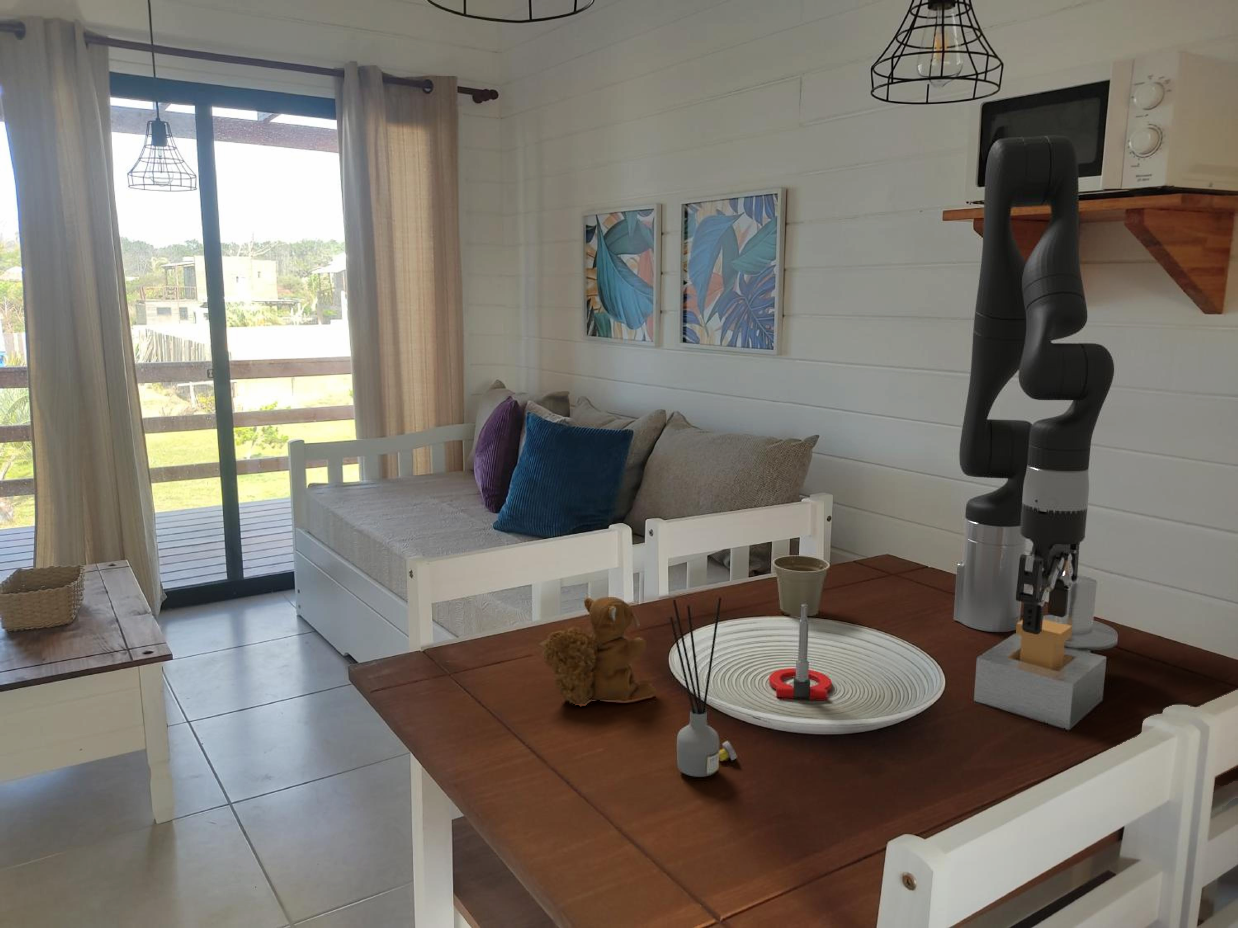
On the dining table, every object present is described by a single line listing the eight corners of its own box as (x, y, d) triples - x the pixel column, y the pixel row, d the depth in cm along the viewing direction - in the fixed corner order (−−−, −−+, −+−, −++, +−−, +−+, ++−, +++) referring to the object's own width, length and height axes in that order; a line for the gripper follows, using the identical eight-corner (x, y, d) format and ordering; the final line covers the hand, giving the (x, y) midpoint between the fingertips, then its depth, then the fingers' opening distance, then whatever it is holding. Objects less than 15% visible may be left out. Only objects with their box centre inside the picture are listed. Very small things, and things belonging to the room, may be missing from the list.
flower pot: (833, 622, 152) (835, 571, 150) (775, 622, 152) (776, 571, 150) (821, 603, 161) (823, 555, 159) (767, 603, 161) (768, 555, 160)
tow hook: (768, 674, 132) (769, 698, 123) (771, 586, 131) (772, 604, 122) (829, 677, 131) (833, 703, 122) (832, 589, 130) (837, 608, 120)
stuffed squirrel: (661, 696, 124) (662, 602, 122) (569, 722, 117) (567, 623, 114) (622, 671, 133) (621, 583, 130) (533, 694, 125) (531, 600, 123)
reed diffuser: (687, 795, 100) (689, 618, 96) (642, 772, 105) (642, 602, 101) (747, 762, 107) (751, 596, 103) (701, 742, 112) (703, 582, 108)
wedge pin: (1010, 698, 123) (1016, 623, 121) (1023, 689, 126) (1028, 615, 124) (1053, 711, 119) (1060, 634, 117) (1065, 702, 122) (1072, 625, 120)
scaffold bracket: (973, 700, 122) (980, 598, 120) (1040, 653, 138) (1047, 562, 136) (1069, 730, 114) (1078, 621, 112) (1128, 676, 130) (1137, 580, 127)
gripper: (1045, 489, 125) (1036, 604, 128) (1001, 506, 115) (992, 630, 118) (1105, 497, 120) (1094, 617, 123) (1064, 516, 110) (1053, 646, 113)
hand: (1044, 623), depth 121 cm, fingers open, 8 cm apart
